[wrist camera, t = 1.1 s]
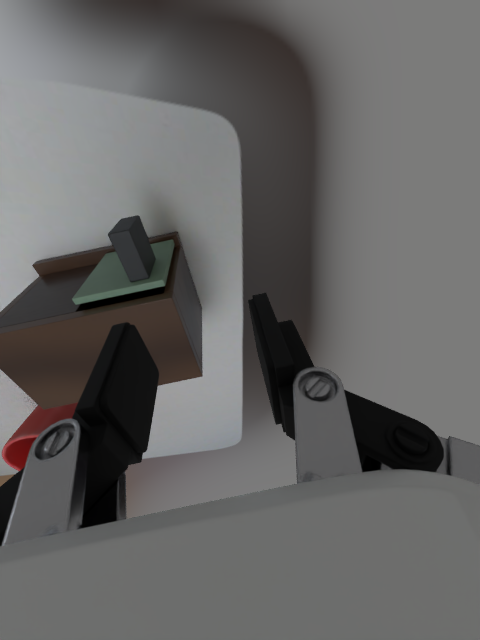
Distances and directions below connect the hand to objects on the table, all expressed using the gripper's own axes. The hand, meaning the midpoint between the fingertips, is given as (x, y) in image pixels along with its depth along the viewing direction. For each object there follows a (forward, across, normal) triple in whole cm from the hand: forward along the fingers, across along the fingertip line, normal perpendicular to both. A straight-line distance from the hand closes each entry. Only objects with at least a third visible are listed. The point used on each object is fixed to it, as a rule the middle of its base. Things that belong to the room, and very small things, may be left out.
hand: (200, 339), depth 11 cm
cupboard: (+21, +11, +7) cm, 25 cm away
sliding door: (+20, +7, 0) cm, 21 cm away
